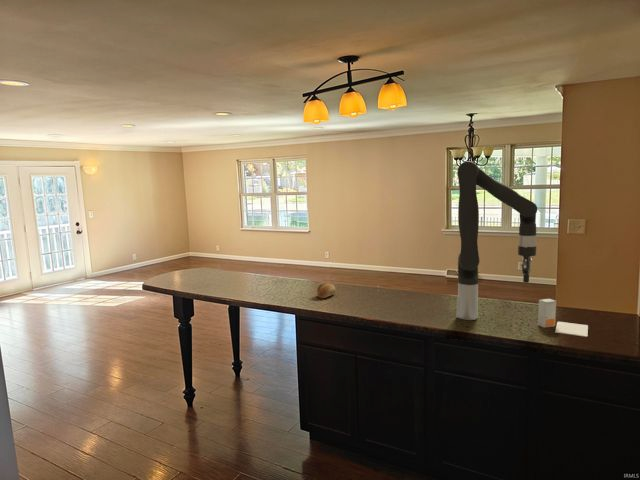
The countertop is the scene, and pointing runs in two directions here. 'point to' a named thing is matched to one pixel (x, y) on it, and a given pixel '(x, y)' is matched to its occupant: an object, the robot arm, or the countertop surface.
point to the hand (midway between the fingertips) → (526, 282)
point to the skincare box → (546, 313)
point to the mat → (572, 329)
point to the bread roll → (326, 290)
